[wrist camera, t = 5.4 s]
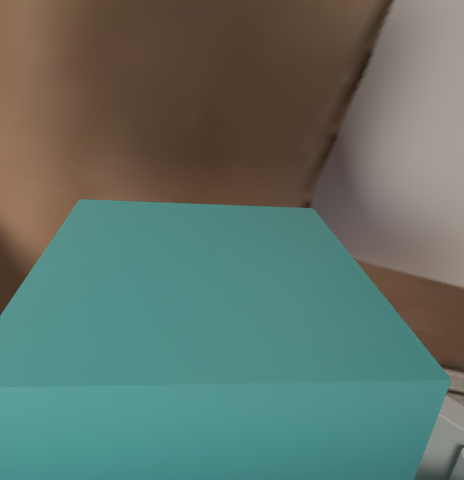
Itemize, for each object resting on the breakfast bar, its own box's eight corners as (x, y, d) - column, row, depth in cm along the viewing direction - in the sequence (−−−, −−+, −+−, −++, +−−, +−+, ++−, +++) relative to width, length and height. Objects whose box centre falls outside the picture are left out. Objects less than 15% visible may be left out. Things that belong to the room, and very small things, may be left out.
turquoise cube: (79, 199, 11) (-50, 387, 5) (312, 208, 12) (451, 380, 6) (93, 385, 13) (20, 659, 7) (284, 381, 14) (358, 627, 8)
